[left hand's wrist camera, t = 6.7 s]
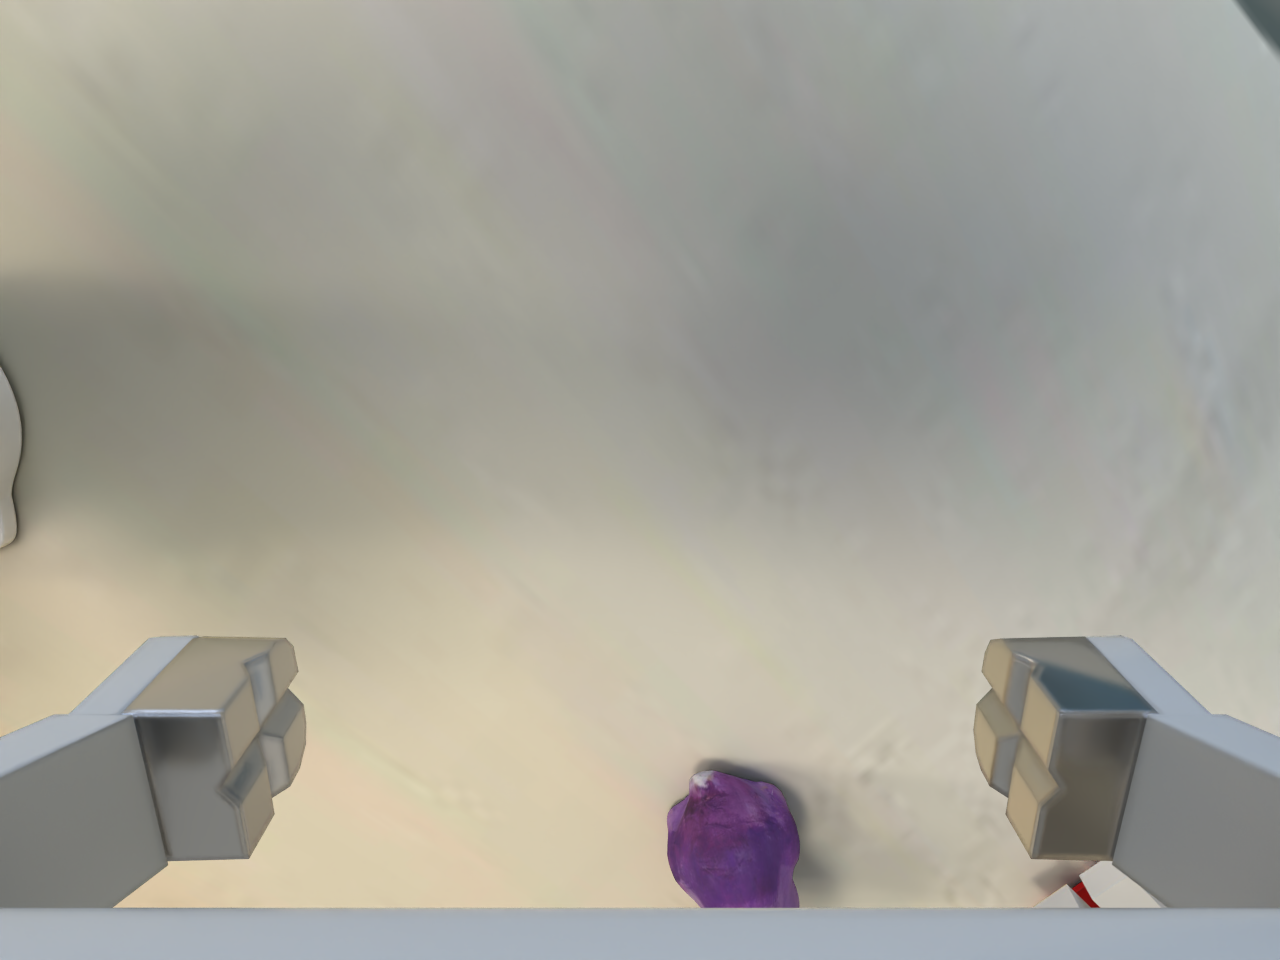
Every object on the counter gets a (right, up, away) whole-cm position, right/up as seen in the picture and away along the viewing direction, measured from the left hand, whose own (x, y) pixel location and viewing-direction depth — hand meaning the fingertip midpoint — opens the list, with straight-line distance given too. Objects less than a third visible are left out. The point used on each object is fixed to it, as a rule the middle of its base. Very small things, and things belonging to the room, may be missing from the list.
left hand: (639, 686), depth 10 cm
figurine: (+7, -20, +47) cm, 52 cm away
